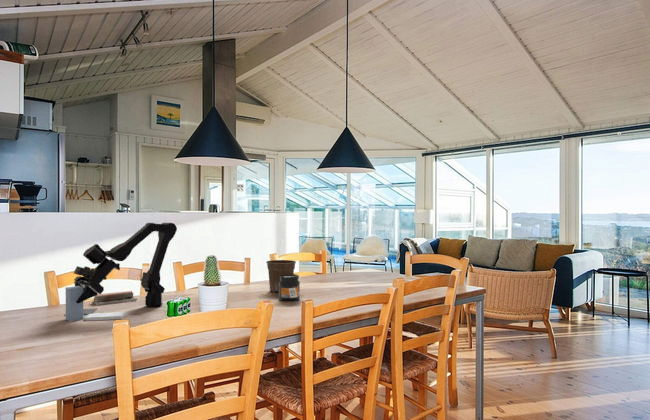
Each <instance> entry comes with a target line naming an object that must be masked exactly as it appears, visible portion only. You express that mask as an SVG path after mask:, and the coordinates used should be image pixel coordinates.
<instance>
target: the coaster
mask: <svg viewBox="0 0 650 420" xmlns="http://www.w3.org/2000/svg"><path fill="white" fill-rule="evenodd" d="M97 309H98V308H83V316H87V315H88V314H93V313H94V312H96V311H97ZM63 316H64V317H66V313H65V314H64V315H63Z"/></svg>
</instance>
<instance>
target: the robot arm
mask: <svg viewBox="0 0 650 420" xmlns="http://www.w3.org/2000/svg"><path fill="white" fill-rule="evenodd" d="M177 230H178V228H177V225H176V224H175V223H173V222H162V223H155V222H147V223H145V224H144V225H143V227H142V226H141V228H140V229H139V230H138V231H136V232H135V233H134V234H133V235H132V236H130V237H129V238H128V239H127V240H126V241H125V240H124V242H121V243H120V244H117V245H115V246H114V247H112V248H110V250H106V251H105V250H103V248H101V245H99V244H98V243H95V244H93V245H92V246H90V247H89V248H87V249H85V251H84V253H82V256H83V257H85V258H86V259H87V261H89V263H92V264H93V265H97V266H95V268H91V267H88V266H84V267H81V266H78V265H77V266H76V267H75V270H74V271H73V274H74V275H77V276H76V277H75V278H74V281H73V283H74V286H81V287H83V293H82V294H81V296H80V297H79V298H78V300H77V301H76V303H81V302H83V303H84V302H85V301H86V300H88V299H91V298H94V297H95V296H96V295H98V294H103V292H104V291H105V289H104V286H103V285H101V283H102V282H104V281H106V280H107V279H108V277H107V276H109V274H110V273H111V272H112V271H113V270H114V269H115V270H117V271H120V270H121V266H120V265H121V264H120V263H118V262H124V261H125V260H126V259H127V258H128V257H129V256H130V254H131V252H132V251H133V250H134V248H135V247H137V246H138V245H139V244H141V243H142V241H144V240H145V239H146V238H147V237H148V236H150V235H151V234H153V232H157V235H158V242H157V245H156V247H155V251H154V252H153V253H154V254H153V256H152V260H151V263H150V266H149V269H148V270H147V272H145V271H144V272H143V273H142V276H141V278H140V285H141V287H142V289H144V292H145V293H146V296H145V297H144V298H145V301H144V302H145V304H144V305H145V308H158V307H159V308H160V307H162V306H163V304H164V303H163V293H165V290H166V289H165V287H164V286H163V285H162V284H161V269H162V266H163V263H164V260H165V256H166V253H167V250H168V247H169V244H170V242H171V241H172V240H173V238H174V237H175V235H176V232H177ZM109 258H110V259H109ZM115 261H116V262H117V263H116V262H115Z"/></svg>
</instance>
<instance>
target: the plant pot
mask: <svg viewBox="0 0 650 420" xmlns="http://www.w3.org/2000/svg"><path fill="white" fill-rule="evenodd" d="M265 263H266V266H267V267H266V268H267V270H268V281H269V282H268V283H269V291H270V292H273V293H279V281H280V275H283V274H295V273H294V272H295V267H296V263H297V261H296V260H292V259H291V260H289V259H273V260H266V262H265Z"/></svg>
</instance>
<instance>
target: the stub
mask: <svg viewBox="0 0 650 420" xmlns="http://www.w3.org/2000/svg"><path fill="white" fill-rule="evenodd" d="M82 293H83V287H81V286H75V285H74V286H67V287H65V314H66V316H65V320H66V321H68V322H75V321H80V320H81V321H82V320H84V315H83V309H84V301H83V302H81V303H76V301H77V300H78V298H79V297H80V296H81V294H82Z"/></svg>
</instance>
